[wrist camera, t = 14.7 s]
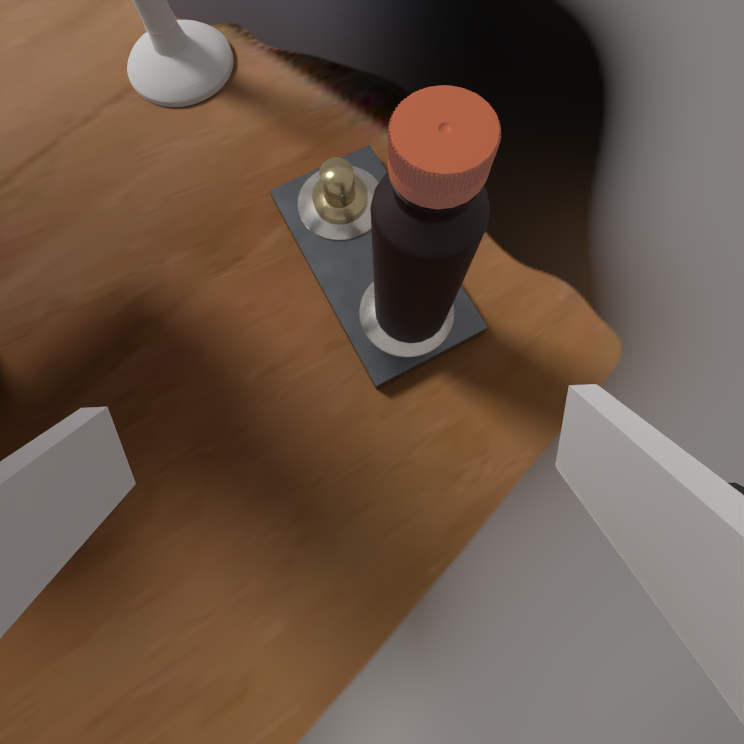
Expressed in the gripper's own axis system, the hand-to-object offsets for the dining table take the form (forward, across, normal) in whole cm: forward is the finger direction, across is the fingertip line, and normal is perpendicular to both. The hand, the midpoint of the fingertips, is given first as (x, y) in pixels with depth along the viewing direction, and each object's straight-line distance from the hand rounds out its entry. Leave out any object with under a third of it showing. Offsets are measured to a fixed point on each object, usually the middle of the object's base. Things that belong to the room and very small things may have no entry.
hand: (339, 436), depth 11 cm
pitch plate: (+31, +1, +1) cm, 31 cm away
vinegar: (+26, +4, -3) cm, 26 cm away
